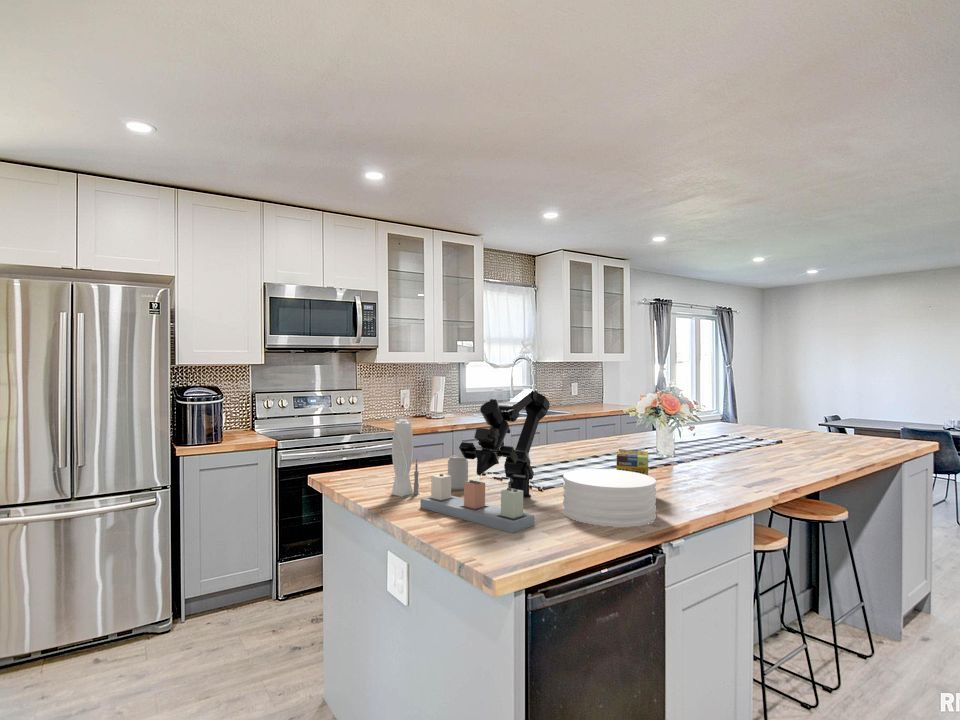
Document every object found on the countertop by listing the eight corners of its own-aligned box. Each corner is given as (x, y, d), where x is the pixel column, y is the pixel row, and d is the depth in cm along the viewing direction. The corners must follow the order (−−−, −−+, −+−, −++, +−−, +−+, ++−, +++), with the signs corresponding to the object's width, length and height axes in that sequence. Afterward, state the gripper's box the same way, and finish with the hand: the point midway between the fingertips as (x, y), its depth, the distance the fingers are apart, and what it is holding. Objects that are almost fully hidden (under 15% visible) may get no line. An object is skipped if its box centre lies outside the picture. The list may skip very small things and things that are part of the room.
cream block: (431, 497, 174) (431, 474, 174) (441, 495, 177) (441, 472, 177) (440, 500, 171) (441, 476, 171) (451, 497, 174) (451, 474, 174)
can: (465, 491, 196) (465, 458, 196) (445, 490, 198) (445, 457, 198) (469, 487, 203) (470, 454, 203) (450, 485, 205) (450, 454, 205)
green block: (500, 515, 154) (501, 488, 154) (510, 512, 158) (511, 486, 158) (513, 518, 151) (513, 491, 151) (523, 515, 155) (523, 488, 155)
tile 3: (463, 506, 164) (464, 481, 164) (474, 503, 167) (474, 478, 167) (474, 508, 161) (475, 483, 161) (484, 506, 164) (485, 481, 164)
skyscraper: (402, 499, 184) (403, 417, 185) (386, 495, 189) (387, 415, 190) (419, 495, 191) (420, 415, 191) (403, 491, 196) (404, 413, 196)
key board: (420, 507, 173) (420, 498, 173) (443, 502, 180) (443, 493, 180) (512, 533, 148) (512, 522, 148) (534, 525, 155) (534, 515, 155)
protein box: (615, 500, 185) (616, 455, 185) (618, 491, 200) (618, 448, 200) (647, 503, 182) (648, 457, 182) (647, 493, 197) (648, 450, 197)
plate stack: (544, 513, 169) (545, 476, 169) (595, 498, 188) (595, 465, 189) (624, 534, 149) (625, 492, 149) (672, 515, 168) (672, 478, 169)
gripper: (462, 416, 176) (442, 455, 166) (514, 420, 166) (496, 461, 157) (474, 438, 182) (456, 477, 172) (524, 443, 173) (508, 484, 163)
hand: (478, 474), depth 166 cm, fingers closed
